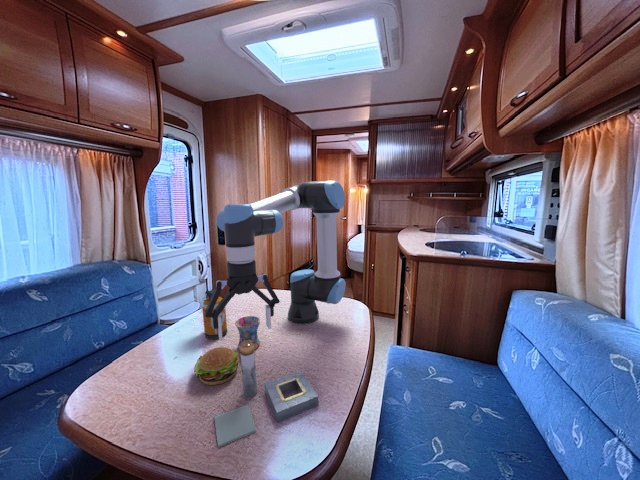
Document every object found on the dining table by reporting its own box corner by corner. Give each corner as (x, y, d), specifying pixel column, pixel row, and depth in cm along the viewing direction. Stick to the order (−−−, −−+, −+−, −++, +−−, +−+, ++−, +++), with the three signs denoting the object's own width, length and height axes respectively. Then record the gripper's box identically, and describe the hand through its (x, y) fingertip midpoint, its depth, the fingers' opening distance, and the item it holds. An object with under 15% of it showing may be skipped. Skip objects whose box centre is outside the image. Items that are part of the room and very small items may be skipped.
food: (206, 360, 93) (204, 340, 92) (244, 361, 93) (243, 340, 91) (185, 388, 80) (182, 365, 78) (230, 389, 79) (228, 365, 78)
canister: (209, 342, 105) (204, 296, 101) (200, 332, 113) (196, 289, 110) (230, 334, 110) (227, 290, 107) (221, 325, 119) (217, 284, 115)
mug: (251, 355, 96) (249, 329, 94) (231, 350, 99) (229, 324, 98) (269, 339, 107) (268, 315, 105) (251, 334, 110) (249, 311, 108)
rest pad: (248, 406, 72) (248, 404, 72) (256, 431, 64) (256, 429, 64) (214, 418, 68) (214, 417, 68) (218, 447, 60) (217, 445, 60)
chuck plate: (301, 379, 83) (301, 370, 82) (318, 405, 72) (318, 395, 72) (265, 392, 77) (264, 382, 77) (277, 422, 67) (276, 412, 66)
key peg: (255, 385, 80) (252, 338, 78) (258, 394, 76) (255, 345, 74) (241, 390, 78) (238, 342, 76) (244, 399, 75) (240, 349, 72)
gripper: (280, 253, 79) (282, 317, 83) (190, 263, 68) (197, 336, 72) (288, 258, 73) (290, 327, 76) (191, 269, 62) (198, 350, 65)
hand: (245, 332), depth 74 cm, fingers open, 13 cm apart
